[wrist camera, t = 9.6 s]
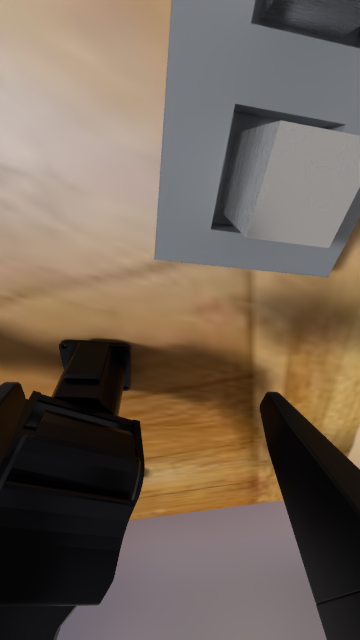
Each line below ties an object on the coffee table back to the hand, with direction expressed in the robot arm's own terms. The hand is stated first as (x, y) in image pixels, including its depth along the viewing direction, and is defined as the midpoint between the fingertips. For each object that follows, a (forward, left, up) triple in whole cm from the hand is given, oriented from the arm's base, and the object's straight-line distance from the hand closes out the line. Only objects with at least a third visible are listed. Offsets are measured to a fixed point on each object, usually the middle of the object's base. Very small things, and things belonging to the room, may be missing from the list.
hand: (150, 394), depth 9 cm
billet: (+7, -6, -11) cm, 14 cm away
